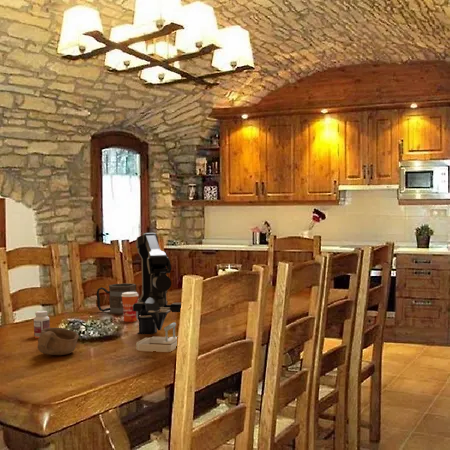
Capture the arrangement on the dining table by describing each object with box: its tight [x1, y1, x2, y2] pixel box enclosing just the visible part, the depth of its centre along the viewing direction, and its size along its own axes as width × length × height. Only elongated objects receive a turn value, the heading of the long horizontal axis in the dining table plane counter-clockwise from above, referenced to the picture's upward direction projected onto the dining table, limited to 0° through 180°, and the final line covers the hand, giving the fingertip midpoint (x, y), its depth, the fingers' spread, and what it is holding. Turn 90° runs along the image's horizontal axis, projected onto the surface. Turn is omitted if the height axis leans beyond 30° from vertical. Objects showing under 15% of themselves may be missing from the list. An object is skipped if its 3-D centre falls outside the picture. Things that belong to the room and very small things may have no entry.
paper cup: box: [121, 291, 139, 323], centre depth 294 cm, size 8×8×14 cm
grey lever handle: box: [162, 322, 178, 345], centre depth 241 cm, size 3×10×6 cm, turn 166°
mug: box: [95, 282, 137, 316], centre depth 317 cm, size 20×14×15 cm
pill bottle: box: [33, 310, 51, 339], centre depth 264 cm, size 6×6×11 cm
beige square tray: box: [135, 336, 177, 353], centre depth 242 cm, size 14×14×3 cm
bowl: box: [37, 327, 80, 356], centre depth 232 cm, size 18×14×10 cm
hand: (159, 330), depth 242 cm, fingers closed
